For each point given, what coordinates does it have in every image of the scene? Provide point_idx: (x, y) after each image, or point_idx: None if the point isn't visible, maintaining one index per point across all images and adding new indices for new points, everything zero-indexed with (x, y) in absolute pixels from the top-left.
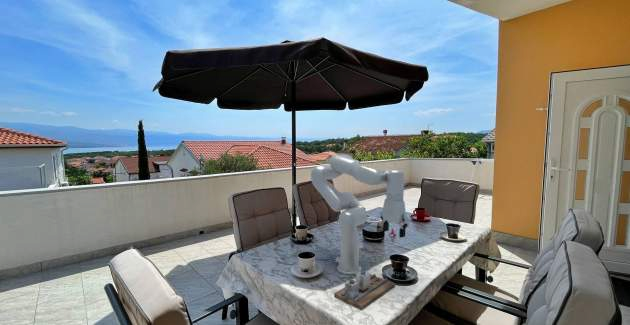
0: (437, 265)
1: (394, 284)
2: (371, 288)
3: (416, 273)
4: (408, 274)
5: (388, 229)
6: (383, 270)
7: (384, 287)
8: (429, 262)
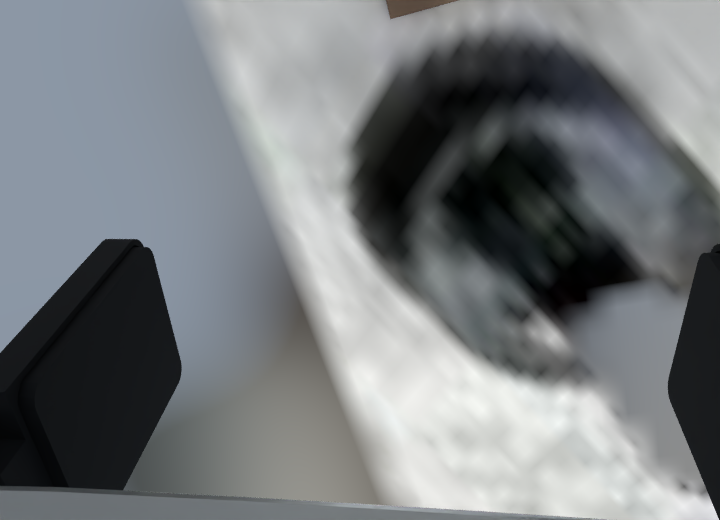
0: None
1: (389, 10)
2: None
3: (457, 336)
4: (482, 279)
5: (677, 407)
6: (680, 167)
7: None
8: None
